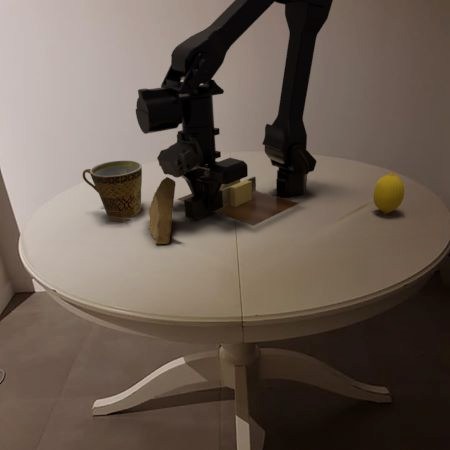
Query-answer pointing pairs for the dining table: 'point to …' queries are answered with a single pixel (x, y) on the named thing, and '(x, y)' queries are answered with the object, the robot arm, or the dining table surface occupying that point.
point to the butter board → (254, 208)
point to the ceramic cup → (118, 188)
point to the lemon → (388, 193)
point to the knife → (197, 205)
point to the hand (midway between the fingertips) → (204, 207)
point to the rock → (162, 211)
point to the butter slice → (240, 193)
